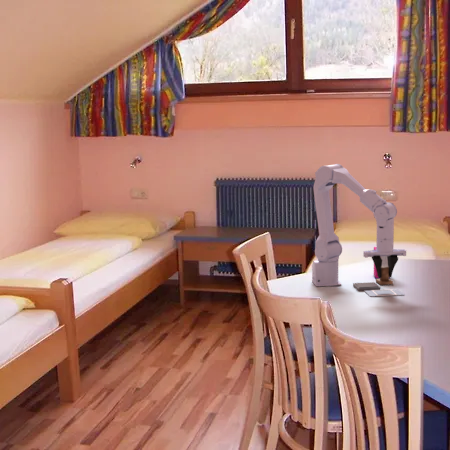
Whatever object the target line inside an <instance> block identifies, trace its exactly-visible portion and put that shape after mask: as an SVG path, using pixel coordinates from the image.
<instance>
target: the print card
mask: <svg viewBox="0 0 450 450" xmlns="http://www.w3.org/2000/svg"><path fill="white" fill-rule="evenodd" d="M364 292H365V294H366V295H367V296H369V297H370V298H376V297H375V296H380V297H397V296H399V297H400V295H403V296H405V293H403V292H402V291H400V290H399V289H395V288H394V289H391V288H390V289H380V290H371V291H364Z"/></svg>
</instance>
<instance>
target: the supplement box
mask: <svg viewBox="0 0 450 450" xmlns="http://www.w3.org/2000/svg"><path fill="white" fill-rule="evenodd" d="M376 247H377V246H374V247H373V250H376ZM381 259H382V266H387V267H388V259H387V256H381ZM373 276H374V279H375V280H376V279H380V278H379V277H378V275H377V270H376V267H375V264H374V263H373ZM389 279H390V280H391V277H389Z"/></svg>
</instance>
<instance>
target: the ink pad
mask: <svg viewBox="0 0 450 450" xmlns="http://www.w3.org/2000/svg"><path fill="white" fill-rule="evenodd" d="M352 285H353V287H354V289H356V291H358V292H365V291H371V290H381V286H380V285H378V284H377V283H376V281H375V282H374V281H373V282H372V281H371V282H354V283H352Z"/></svg>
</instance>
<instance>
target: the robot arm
mask: <svg viewBox="0 0 450 450" xmlns="http://www.w3.org/2000/svg"><path fill="white" fill-rule="evenodd" d="M314 175H315V179H314V183H313V188H312V189H313V195H314V196H313V197H314V202H315V203H314V205H315V211H316V212H315V213H316V219H317V227H318V234H319V235H318V236H317V239H316V240H315V249H314V255H315V257H316V260H313V261H312V265H311V266H312V269H311V275H312V277H311V278H312V279H311V281H312V283H313V284H314V286H315V287H332V286H342V283H341V282H340V281H339V259H340V256H341V254H342V253H343V247H342V244H341V242H340V238H339V236H338V235H337V234H336V233H335V229H334V219H333V212H332V211H333V210H332V205H331V203H332V202H331V196H330V190H331V189H332V188H333V187H334V186H335V185H336V184H341V185H343V186H345V187H346V188H348V189H349V190H350V191H351V192H353V193H354V194H356V196H358V198H359V202H360V203H361V204H362V205H364V206H365V207H366V208H367V209H368V210H369V211H370V212H372V213H373V216H374V218H375V221H376V222H375V223H376V246H375V247H376V250H374V249H372V250H363V258H371V260H372V261H373V265H374V264H375V267H376V270H377V275H378V277H379V278H381V266H382V259H381V256H387V259H388V267H389V277H390V278H392V276H393V272H394V268H395V266H396V265H397V263H398V261H399V257H402V256H403V257H406V256H407V250H406V249H395V248H394V241H395V240H394V238H395V237H394V233H395V232H394V231H395V228H394V227H395V225H394V224H395V218H396V216H397V214H398V208H397V207H396V205H395V204H394V203H393V202H387V200H386V198H383V197H381V196H380V195H379V194H377V191H376V190H375V189H372V188H370V189H369V188H368V189H366V188H365V187H364V186H363V185H362V184H361V183H360V181H358V180H357V179H356V178H355V177H354V176H353V175H352V174H351V173H350V172H349V170H348V169H347V168H346V167H344V166H343V165H342V164H340V163H334V164H329V165H328V164H327V165H322V166H319V168H318V169H317V170H316V171H315V172H314Z"/></svg>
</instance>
